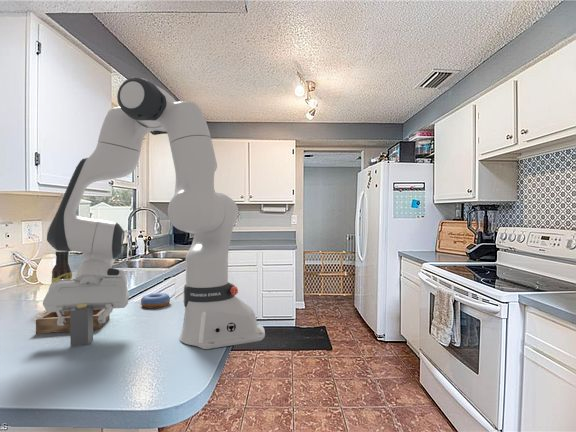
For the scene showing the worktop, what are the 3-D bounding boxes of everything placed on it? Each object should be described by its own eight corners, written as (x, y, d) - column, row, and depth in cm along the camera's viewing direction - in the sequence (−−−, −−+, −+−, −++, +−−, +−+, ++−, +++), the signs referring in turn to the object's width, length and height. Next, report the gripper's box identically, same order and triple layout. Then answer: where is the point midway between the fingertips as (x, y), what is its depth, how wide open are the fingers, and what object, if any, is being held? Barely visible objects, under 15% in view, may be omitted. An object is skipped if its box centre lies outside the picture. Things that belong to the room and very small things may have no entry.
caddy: (109, 318, 112) (109, 305, 112) (98, 329, 101) (98, 315, 101) (53, 322, 108) (53, 309, 108) (35, 333, 98) (35, 319, 98)
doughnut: (155, 309, 121) (156, 296, 122) (134, 308, 125) (134, 295, 126) (175, 305, 130) (176, 292, 131) (155, 304, 134) (155, 292, 135)
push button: (93, 339, 93) (92, 301, 93) (88, 345, 89) (87, 305, 89) (76, 340, 92) (76, 302, 92) (70, 346, 88) (70, 306, 88)
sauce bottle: (61, 308, 124) (61, 252, 124) (46, 307, 126) (46, 251, 125) (76, 303, 131) (75, 250, 131) (62, 302, 132) (61, 250, 132)
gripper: (48, 273, 95) (30, 320, 86) (129, 270, 100) (121, 314, 90) (55, 286, 100) (39, 332, 90) (133, 283, 104) (125, 326, 95)
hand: (81, 323), depth 90 cm, fingers open, 8 cm apart
